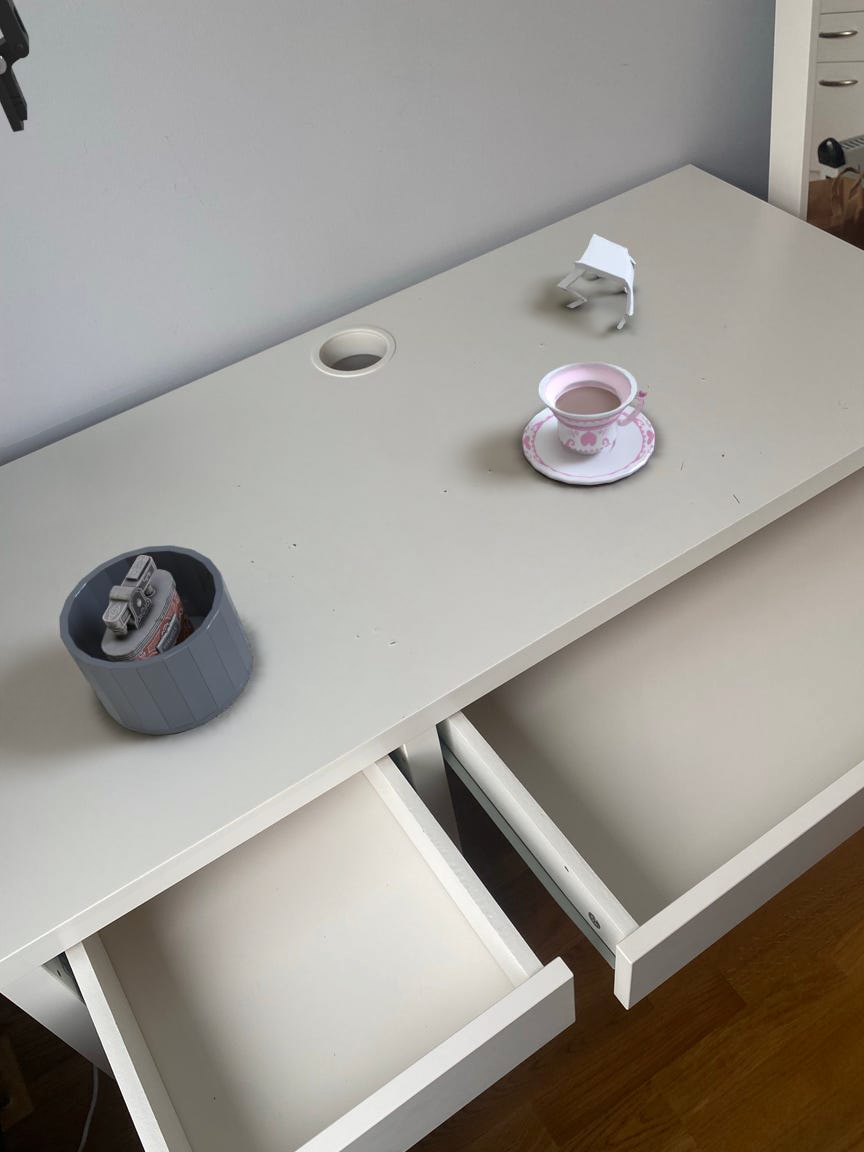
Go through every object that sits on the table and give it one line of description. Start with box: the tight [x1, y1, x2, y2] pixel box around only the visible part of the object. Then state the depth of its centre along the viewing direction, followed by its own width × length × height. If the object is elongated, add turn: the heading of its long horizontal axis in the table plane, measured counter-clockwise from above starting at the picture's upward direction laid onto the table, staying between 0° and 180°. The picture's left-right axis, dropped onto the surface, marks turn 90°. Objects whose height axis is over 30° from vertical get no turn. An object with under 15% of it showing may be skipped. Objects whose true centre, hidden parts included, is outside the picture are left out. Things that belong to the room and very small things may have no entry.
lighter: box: [101, 555, 196, 662], centre depth 70 cm, size 8×3×10 cm, turn 168°
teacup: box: [521, 361, 656, 486], centre depth 86 cm, size 12×12×6 cm
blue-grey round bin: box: [58, 544, 253, 736], centre depth 72 cm, size 12×12×8 cm
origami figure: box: [556, 233, 637, 330], centre depth 100 cm, size 12×8×5 cm
